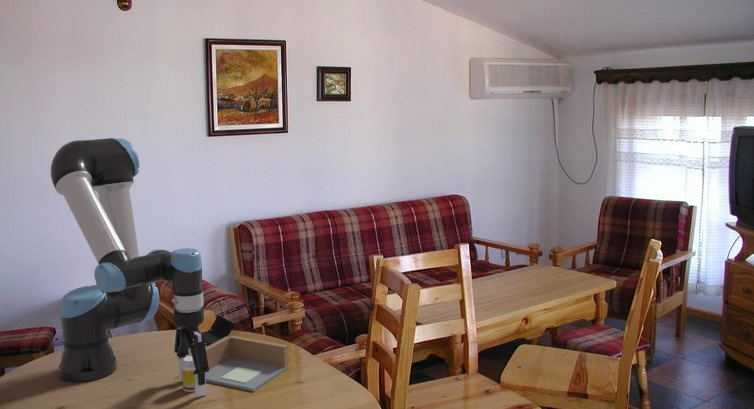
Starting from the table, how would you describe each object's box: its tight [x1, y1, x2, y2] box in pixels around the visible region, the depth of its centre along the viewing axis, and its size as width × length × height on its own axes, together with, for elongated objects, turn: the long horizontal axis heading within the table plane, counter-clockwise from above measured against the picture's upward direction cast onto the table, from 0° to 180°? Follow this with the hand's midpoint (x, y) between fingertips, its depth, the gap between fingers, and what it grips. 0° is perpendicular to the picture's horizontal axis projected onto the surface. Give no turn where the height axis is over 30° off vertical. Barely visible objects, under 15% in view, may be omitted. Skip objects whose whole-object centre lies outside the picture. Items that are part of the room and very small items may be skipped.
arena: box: [190, 334, 289, 393], centre depth 194 cm, size 20×17×7 cm
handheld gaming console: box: [200, 314, 235, 346], centre depth 222 cm, size 12×7×10 cm
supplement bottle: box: [182, 355, 195, 393], centre depth 185 cm, size 5×5×8 cm
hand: (192, 387), depth 185 cm, fingers open, 11 cm apart
